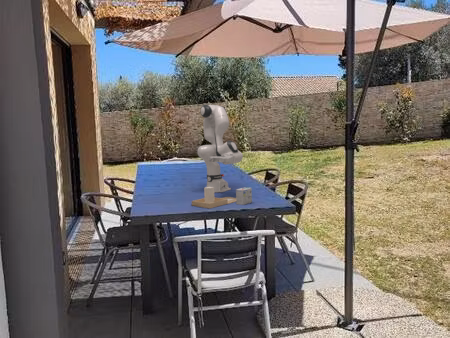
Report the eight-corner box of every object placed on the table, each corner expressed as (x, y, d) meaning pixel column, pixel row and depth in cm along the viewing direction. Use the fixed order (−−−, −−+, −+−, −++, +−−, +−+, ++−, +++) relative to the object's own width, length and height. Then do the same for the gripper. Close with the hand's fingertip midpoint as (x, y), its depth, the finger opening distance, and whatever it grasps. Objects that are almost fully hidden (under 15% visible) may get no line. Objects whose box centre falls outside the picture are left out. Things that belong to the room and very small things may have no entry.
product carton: (209, 203, 326) (209, 186, 324) (214, 203, 322) (214, 187, 321) (204, 204, 322) (204, 187, 320) (209, 205, 319) (209, 188, 317)
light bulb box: (245, 201, 330) (244, 187, 328) (252, 202, 326) (252, 187, 324) (235, 204, 322) (235, 189, 320) (243, 205, 317) (243, 190, 316)
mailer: (227, 197, 348) (226, 192, 348) (244, 199, 336) (244, 195, 336) (191, 205, 321) (191, 200, 321) (209, 208, 309) (209, 203, 309)
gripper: (216, 154, 351) (203, 155, 341) (236, 155, 337) (223, 156, 327) (216, 162, 351) (204, 164, 341) (236, 163, 338) (224, 165, 327)
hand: (213, 160), depth 334 cm, fingers open, 8 cm apart
